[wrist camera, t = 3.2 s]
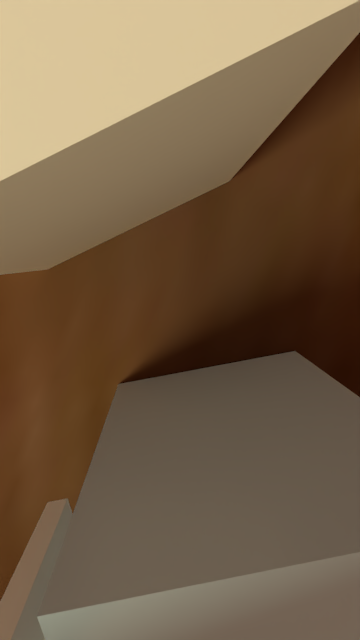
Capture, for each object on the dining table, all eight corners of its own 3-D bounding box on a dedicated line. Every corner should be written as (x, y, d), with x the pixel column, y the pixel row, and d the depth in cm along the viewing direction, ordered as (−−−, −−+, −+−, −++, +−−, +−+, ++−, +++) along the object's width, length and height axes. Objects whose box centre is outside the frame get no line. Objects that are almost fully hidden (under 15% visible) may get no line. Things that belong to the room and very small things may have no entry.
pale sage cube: (153, 529, 15) (139, 889, 7) (118, 383, 14) (37, 616, 5) (308, 498, 16) (497, 812, 7) (295, 350, 14) (529, 518, 5)
